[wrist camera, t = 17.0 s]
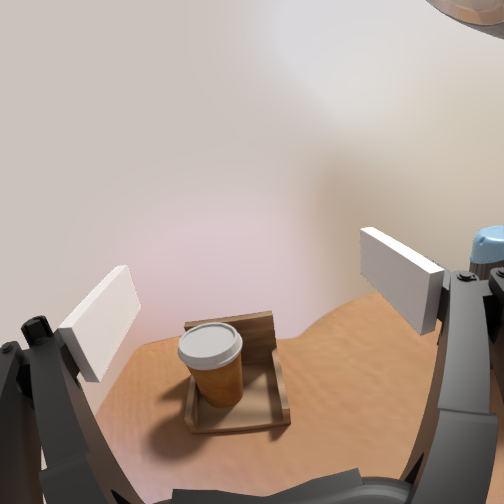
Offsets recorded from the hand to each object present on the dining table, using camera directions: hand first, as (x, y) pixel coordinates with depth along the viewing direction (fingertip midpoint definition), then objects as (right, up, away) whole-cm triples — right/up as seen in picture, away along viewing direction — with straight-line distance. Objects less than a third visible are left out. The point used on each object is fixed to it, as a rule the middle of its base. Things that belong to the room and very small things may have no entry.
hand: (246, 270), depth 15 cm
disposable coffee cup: (-4, -23, +27) cm, 36 cm away
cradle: (-2, -23, +28) cm, 36 cm away
